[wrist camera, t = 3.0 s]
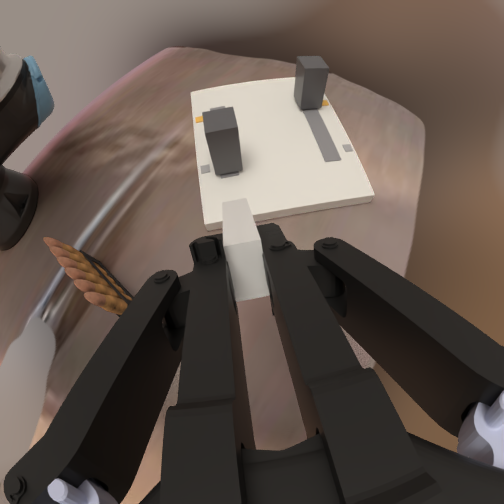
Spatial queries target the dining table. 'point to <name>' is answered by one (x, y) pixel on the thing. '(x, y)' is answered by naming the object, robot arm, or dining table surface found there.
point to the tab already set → (310, 81)
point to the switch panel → (278, 154)
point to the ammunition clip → (91, 277)
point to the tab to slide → (223, 140)
